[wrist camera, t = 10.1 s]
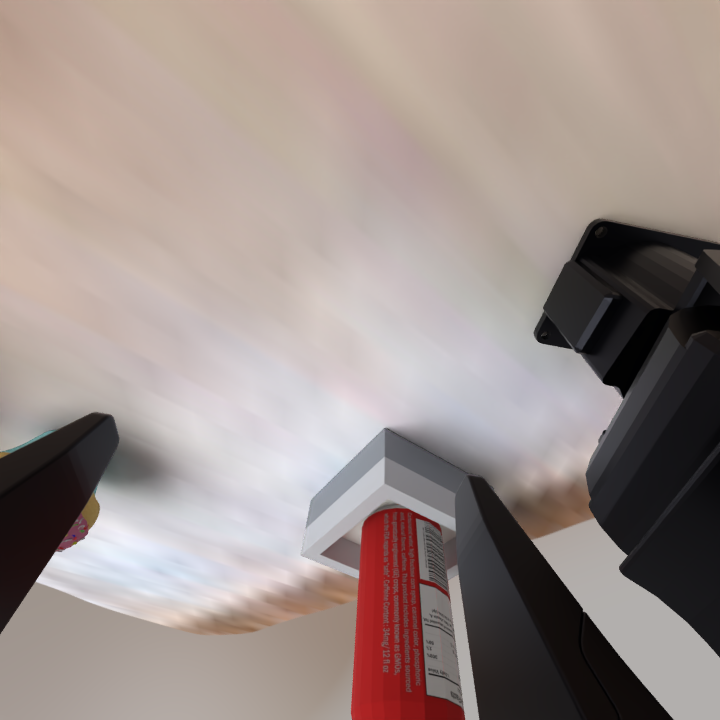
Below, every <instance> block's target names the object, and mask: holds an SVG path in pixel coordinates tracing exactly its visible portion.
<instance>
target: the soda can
mask: <svg viewBox="0 0 720 720" xmlns="http://www.w3.org/2000/svg"><path fill="white" fill-rule="evenodd" d="M351 715H352V720H465V715H464V707H463V699H462V691H461V683H460V675H459V667H458V659H457V651H456V643H455V635H454V627H453V618H452V610H451V602H450V594H449V587H448V578H447V570H446V562H445V554H444V546H443V538H442V530H441V527H440V525H439V523H437V522H435V521H433V520H431V519H429V518H427V517H424V516H422V515H420V514H418V513H416V512H414V511H412V510H410V509H408V508H406V507H404V506H402V505H391V506H386V507H383V508H380V509H379V510H377V511H375V512H374V513H373V514H372V515H371V516H369V517H368V518H367V519H366V520H365V521H364V523H363V526H362V534H361V551H360V568H359V585H358V603H357V620H356V637H355V653H354V670H353V688H352V704H351Z"/></svg>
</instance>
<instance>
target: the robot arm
mask: <svg viewBox="0 0 720 720" xmlns="http://www.w3.org/2000/svg"><path fill="white" fill-rule="evenodd" d="M600 227H603V231H602V232H601V233H600V234H599V235H595V232H596V230H597V229H598V228H600ZM543 309H544V313H543V315H542V317H541V319H540V321H539V323H538V325H537V326H536V328H535V331H534V337H535V338H536V340H537V341H538V342H539V343H542V344H547V345H552V346H558V347H563V348H568V349H573V350H574V351H575V352H576V353H579V354H581V355H582V357H583V358H584V359H585V361H586V362H587V363H588V364H589V366H590V367H591V368H592V370H593V371H594V372H595V373H596V375H597V376H598V377H599V379H600V380H601V381H602V382H603V384H605V385H609V386H613V387H614V388H615V389H616V390H617V392H618V393H619V394H620V395H621V397H622V398H623V401H622V403H621V405H620V407H619V408H618V410H617V412H616V414H615V416H614V417H613V419H612V421H611V423H610V425H609V426H608V428H607V430H604V431H603V433H602V435H601V436H600V438H599V444H598V446H597V448H596V450H595V452H594V453H593V455H592V457H591V459H590V462H589V465H588V468H587V471H586V479H587V484H588V490H589V495H590V497H591V500H590V502H589V508H590V510H591V512H592V513H593V515H594V517H595V518H596V520H597V522H598V523H599V525H600V526H601V527H602V529H603V530H604V531H605V532H606V533H607V534H608V536H609V537H610V538H611V539H612V540H613V541H614V542H615V543H616V545H617V546H618V547H619V548H620V549H621V550H622V551H623V552H624V553H626V554H627V555H628V556H627V557H626V559H625V560H624V561H623V562H622V564H621V565H620V566H619V570H620V572H621V573H622V574H623V575H624V576H625V577H627V578H628V579H630V580H632V581H633V582H635V583H636V584H638V585H639V586H641V587H643V588H644V589H646V590H647V591H649V592H651V593H652V594H654V595H655V596H657V597H658V598H659V599H660V600H661V601H663V602H664V603H665V604H666V605H667V606H669V607H670V608H671V609H672V610H673V611H675V612H676V613H677V614H678V615H679V616H680V617H682V618H683V619H684V620H685V621H686V622H688V624H689V625H690V626H691V627H692V628H693V629H694V630H695V631H696V632H697V633H698V634H699V635H700V636H701V637H702V638H703V639H704V640H705V641H706V642H707V643H708V645H709V646H710V647H711V648H712V649H713V650H714V651H715V652H716V654H717V655H718V656H719V657H720V244H719V243H717V242H712V241H707V240H702V239H698V238H693V237H688V236H683V235H678V234H674V233H669V232H664V231H659V230H654V229H649V228H645V227H640V226H635V225H630V224H625V223H621V222H616V221H611V220H606V219H597V220H594V221H593V222H591V223H590V224H589V225H588V227H587V228H586V230H585V232H584V234H583V236H582V238H581V240H580V242H579V244H578V246H577V248H576V250H575V252H574V254H573V256H572V258H571V260H570V261H569V262H567V263H566V264H565V265H564V267H563V269H562V271H561V273H560V275H559V277H558V279H557V281H556V283H555V285H554V287H553V289H552V291H551V293H550V295H549V297H548V299H547V301H546V303H545V305H544V307H543ZM544 332H548V333H547V335H545V336H541V335H542V333H544ZM118 443H119V435H118V431H117V428H116V424H115V420H114V417H113V416H112V415H110V414H105V413H99V412H94V413H91V414H88V415H86V416H84V417H82V418H80V419H78V420H76V421H74V422H72V423H70V424H68V425H66V426H64V427H62V428H60V429H58V430H56V431H54V432H52V433H50V434H48V435H46V436H44V437H42V438H40V439H38V440H36V441H34V442H32V443H30V444H28V445H26V446H24V447H22V448H20V449H18V450H16V451H14V452H11V453H9V454H7V455H5V456H3V457H1V458H0V634H1V632H2V631H3V629H4V628H5V626H6V625H7V623H8V622H9V620H10V619H11V617H12V616H13V614H14V613H15V611H16V610H17V608H18V607H19V605H20V604H21V602H22V601H23V599H24V598H25V596H26V595H27V593H28V592H29V590H30V589H31V587H32V586H33V584H34V583H35V581H36V580H37V578H38V577H39V575H40V574H41V572H42V571H43V569H44V568H45V566H46V565H47V563H48V562H49V560H50V559H51V557H52V556H53V554H54V553H55V551H56V550H57V548H58V547H59V545H60V544H61V542H62V541H63V539H64V538H65V536H66V535H67V533H68V532H69V530H70V529H71V527H72V526H73V524H74V523H75V521H76V520H77V518H78V517H79V515H80V514H81V512H82V511H83V509H84V508H85V506H86V504H87V503H88V501H89V499H90V498H91V496H92V494H93V492H94V490H95V488H96V486H97V485H98V483H99V481H100V479H101V477H102V475H103V473H104V471H105V469H106V467H107V465H108V464H109V462H110V460H111V458H112V456H113V454H114V452H115V450H116V448H117V446H118ZM455 524H456V552H457V565H458V573H459V580H460V587H461V594H462V601H463V607H464V615H465V622H466V629H467V635H468V643H469V649H470V656H471V664H472V671H473V678H474V685H475V692H476V698H477V706H478V712H479V720H673V718H672V717H671V716H670V715H669V714H668V713H667V711H666V710H665V709H664V708H663V707H662V706H661V705H660V704H659V702H658V701H657V700H656V699H655V697H654V696H653V695H652V694H651V693H650V692H649V691H648V689H647V688H646V687H645V686H644V685H643V684H642V682H641V681H640V680H639V679H638V678H637V676H636V675H635V674H634V673H633V672H632V670H631V669H630V668H629V667H628V666H627V665H626V663H625V662H624V661H623V660H622V658H620V656H619V655H618V653H617V652H616V651H615V650H614V648H613V647H612V646H611V645H610V643H609V642H608V641H607V640H606V638H605V637H604V636H603V634H602V633H601V632H600V631H599V629H598V628H597V627H596V625H595V624H594V623H593V621H592V620H591V619H590V617H589V616H588V615H587V613H585V612H583V608H582V607H581V606H580V604H579V603H578V602H577V600H576V599H575V598H574V596H573V595H572V594H571V592H570V591H569V590H568V589H567V587H566V586H565V585H564V583H563V582H562V581H561V579H560V578H559V577H558V575H557V574H556V573H555V571H554V570H553V569H552V567H551V566H550V565H549V563H548V562H547V561H546V559H545V558H544V557H543V555H542V554H541V553H540V552H539V550H538V549H537V548H536V547H535V545H534V544H533V542H532V541H531V540H530V538H529V537H528V536H527V534H526V533H525V532H524V530H523V529H522V528H521V526H520V525H519V524H518V522H517V521H516V520H515V518H514V517H513V516H512V515H511V513H510V512H509V511H508V509H507V508H506V507H505V505H504V504H503V503H502V501H501V500H500V499H499V497H498V496H497V495H496V493H495V492H494V491H493V489H492V488H491V487H490V485H489V484H488V483H487V482H486V480H485V479H484V478H483V477H481V476H477V475H471V474H467V475H466V476H465V477H464V479H463V481H462V483H461V484H460V486H459V488H458V490H457V492H456V495H455Z"/></svg>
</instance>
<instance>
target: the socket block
mask: <svg viewBox="0 0 720 720" xmlns="http://www.w3.org/2000/svg"><path fill="white" fill-rule="evenodd" d="M467 474H468V473H466V472H464V471H462V470H461V469H459V468H457V467H455V466H453V465H451V464H450V463H448V462H446V461H444V460H442V459H440V458H439V457H437V456H435V455H433V454H431V453H430V452H428V451H426V450H424V449H422V448H420V447H419V446H417V445H415V444H413V443H411V442H409V441H408V440H406V439H404V438H402V437H400V436H399V435H397V434H395V433H393V432H391V431H389V430H388V429H386V428H384V429H383V430H382V431H381V432H380V433H379V434H378V435H377V436H376V437H375V438H374V439H373V440H372V441H371V442H370V443H369V444H368V445H367V446H366V447H365V448H364V449H363V450H362V451H361V452H360V453H359V454H358V455H357V456H356V457H355V458H354V459H353V460H351V461H350V462H349V463H348V464H347V465H346V466H345V467H344V468H343V469H342V470H341V471H340V472H339V473H338V474H337V475H336V476H335V477H334V478H333V479H332V480H331V481H330V482H329V483H328V484H327V485H326V486H325V487H324V488H323V489H322V490H321V491H320V492H319V493H318V494H317V495H316V496H315V497H314V498H313V499H312V500H311V503H310V508H309V513H308V518H307V524H306V529H305V534H304V539H303V544H302V549H301V556H303V557H306V558H308V559H311V560H313V561H316V562H318V563H320V564H323V565H325V566H328V567H330V568H333V569H335V570H338V571H340V572H343V573H345V574H348V575H350V576H353V577H355V578H358V579H359V568H360V551H361V534H362V526H363V523H364V521H365V520H366V519H367V518H368V517H369V516H371V515H372V514H373V513H374V512H375V511H377V510H379V509H380V508H383V507H386V506H391V505H402V506H404V507H406V508H408V509H410V510H412V511H414V512H416V513H418V514H420V515H422V516H424V517H427V518H429V519H431V520H433V521H435V522H437V523H439V525H440V527H441V530H442V538H443V546H444V554H445V562H446V570H447V578H448V580H450V579H451V578H453V577H455V576H457V575H459V573H458V565H457V552H456V524H455V495H456V492H457V490H458V488H459V486H460V484H461V483H462V481H463V479H464V477H465V476H466V475H467ZM490 487H491V488H492V489H493V491H494V488H493V487H492V486H490Z"/></svg>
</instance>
